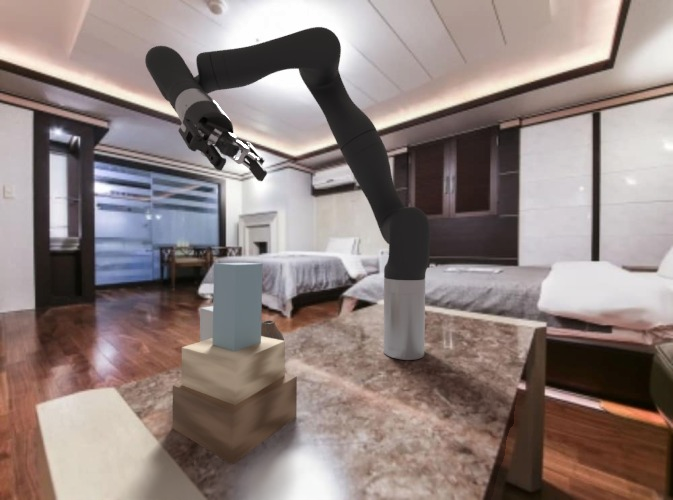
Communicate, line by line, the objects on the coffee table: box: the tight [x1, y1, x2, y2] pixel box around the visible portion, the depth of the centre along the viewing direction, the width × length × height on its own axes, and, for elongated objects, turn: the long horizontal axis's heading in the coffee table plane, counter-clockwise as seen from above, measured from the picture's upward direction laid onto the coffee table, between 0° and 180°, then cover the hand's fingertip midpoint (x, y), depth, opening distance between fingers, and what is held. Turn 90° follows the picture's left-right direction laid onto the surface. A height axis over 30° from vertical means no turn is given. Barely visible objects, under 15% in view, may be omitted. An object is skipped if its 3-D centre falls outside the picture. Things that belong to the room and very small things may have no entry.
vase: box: [261, 320, 285, 341], centre depth 60 cm, size 7×7×9 cm
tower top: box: [180, 336, 286, 405], centre depth 40 cm, size 9×10×5 cm
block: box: [212, 262, 263, 351], centre depth 40 cm, size 4×4×11 cm
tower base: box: [172, 372, 298, 465], centre depth 40 cm, size 11×12×6 cm
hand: (244, 171), depth 49 cm, fingers open, 8 cm apart
